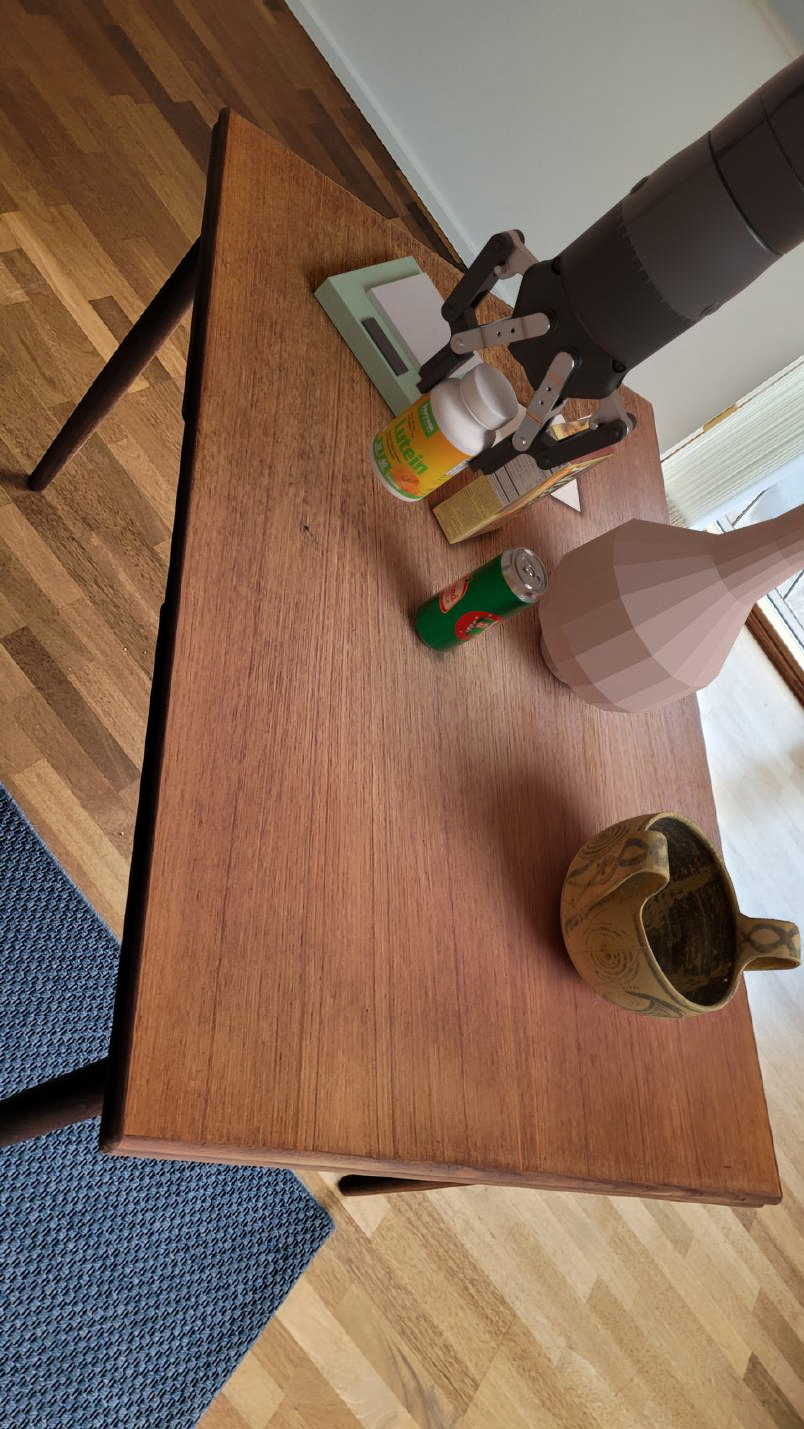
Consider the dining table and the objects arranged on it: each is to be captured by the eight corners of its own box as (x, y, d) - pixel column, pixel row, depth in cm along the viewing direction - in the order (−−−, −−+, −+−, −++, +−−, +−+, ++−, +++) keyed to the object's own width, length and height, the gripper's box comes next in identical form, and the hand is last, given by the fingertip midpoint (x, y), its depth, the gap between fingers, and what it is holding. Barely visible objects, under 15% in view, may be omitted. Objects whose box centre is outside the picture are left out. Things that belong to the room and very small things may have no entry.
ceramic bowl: (492, 981, 72) (650, 953, 62) (512, 795, 81) (652, 743, 71) (662, 1060, 83) (821, 1047, 72) (662, 887, 92) (803, 854, 82)
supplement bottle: (353, 443, 61) (453, 357, 54) (397, 427, 65) (495, 346, 58) (395, 512, 62) (499, 436, 55) (436, 493, 65) (537, 420, 59)
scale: (312, 293, 87) (332, 271, 85) (397, 269, 98) (416, 249, 96) (408, 435, 89) (429, 417, 87) (479, 396, 101) (500, 379, 98)
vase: (584, 582, 102) (847, 439, 81) (633, 731, 98) (921, 619, 78) (482, 571, 90) (760, 399, 69) (533, 739, 86) (843, 610, 65)
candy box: (478, 494, 94) (596, 412, 83) (497, 530, 94) (617, 452, 83) (429, 509, 87) (550, 422, 77) (450, 548, 88) (573, 466, 77)
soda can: (424, 593, 83) (521, 531, 74) (459, 633, 84) (558, 577, 76) (402, 623, 79) (501, 562, 71) (439, 665, 81) (540, 610, 72)
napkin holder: (570, 436, 111) (607, 410, 107) (581, 512, 107) (620, 488, 103) (484, 380, 102) (521, 350, 98) (492, 461, 98) (531, 432, 94)
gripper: (754, 357, 52) (531, 501, 63) (622, 128, 50) (416, 320, 61) (721, 387, 46) (484, 538, 58) (571, 132, 44) (356, 342, 56)
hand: (450, 426), depth 59 cm, fingers closed on supplement bottle, 5 cm apart
